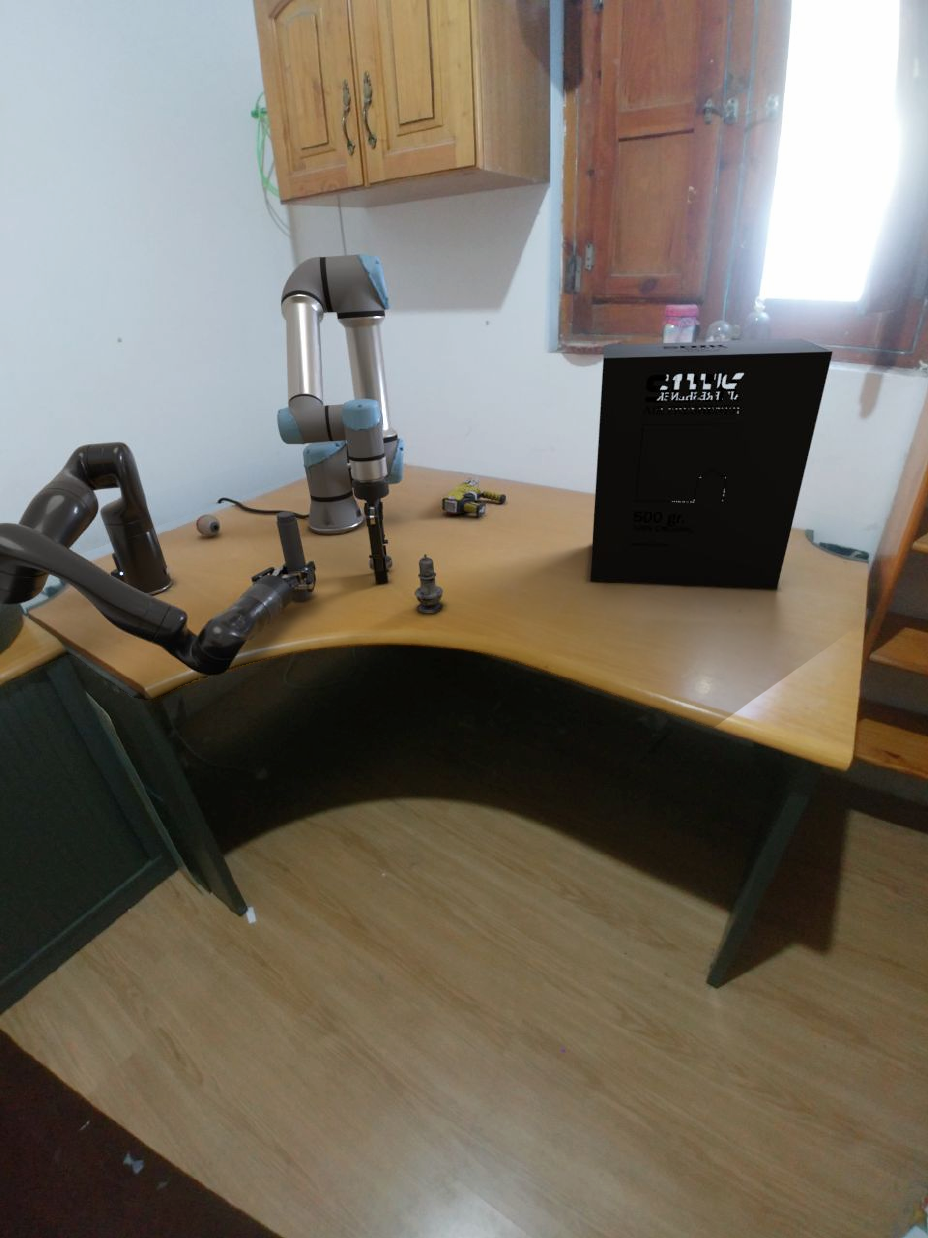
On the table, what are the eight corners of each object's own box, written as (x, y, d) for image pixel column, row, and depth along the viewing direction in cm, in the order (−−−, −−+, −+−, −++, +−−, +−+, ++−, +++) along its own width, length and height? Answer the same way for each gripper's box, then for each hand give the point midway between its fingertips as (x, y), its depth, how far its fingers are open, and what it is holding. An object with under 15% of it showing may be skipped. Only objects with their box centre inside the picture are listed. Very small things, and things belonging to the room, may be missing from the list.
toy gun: (514, 482, 184) (468, 475, 188) (491, 505, 164) (440, 497, 168) (513, 497, 186) (467, 490, 190) (490, 522, 166) (439, 513, 170)
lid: (368, 571, 135) (367, 564, 134) (371, 562, 140) (370, 555, 139) (391, 570, 135) (390, 563, 134) (393, 561, 140) (393, 554, 139)
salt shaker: (440, 614, 122) (436, 560, 116) (412, 613, 123) (406, 559, 117) (447, 600, 127) (443, 548, 121) (420, 599, 128) (414, 547, 122)
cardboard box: (756, 549, 141) (800, 338, 118) (776, 589, 124) (832, 351, 101) (592, 544, 148) (604, 344, 126) (590, 580, 131) (603, 357, 109)
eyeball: (209, 541, 163) (203, 520, 160) (195, 537, 166) (188, 517, 163) (227, 533, 168) (222, 513, 165) (213, 530, 171) (207, 510, 168)
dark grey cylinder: (291, 595, 133) (273, 512, 124) (310, 591, 134) (293, 509, 125) (294, 603, 130) (276, 518, 120) (313, 599, 131) (297, 515, 122)
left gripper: (293, 586, 113) (330, 549, 128) (226, 582, 116) (269, 547, 131) (301, 620, 117) (335, 581, 132) (235, 616, 120) (276, 578, 135)
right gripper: (354, 467, 135) (368, 562, 146) (348, 491, 119) (363, 596, 131) (388, 464, 135) (399, 559, 147) (386, 489, 120) (398, 593, 131)
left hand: (302, 564), depth 131 cm, fingers closed on dark grey cylinder, 4 cm apart
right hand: (382, 576), depth 139 cm, fingers closed on lid, 5 cm apart
